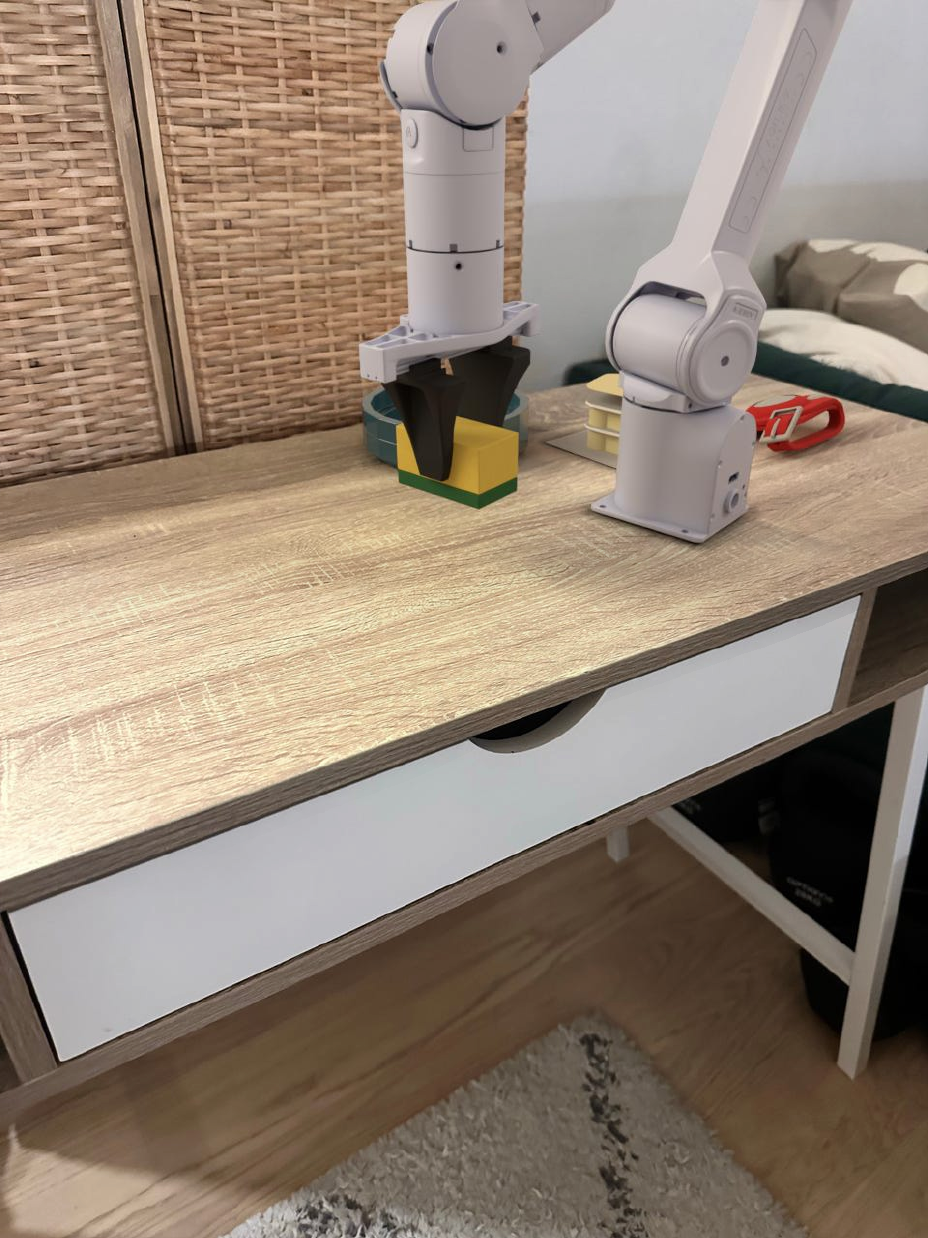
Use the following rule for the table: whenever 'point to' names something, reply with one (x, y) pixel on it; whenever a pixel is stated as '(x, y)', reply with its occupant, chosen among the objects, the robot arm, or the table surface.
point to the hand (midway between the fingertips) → (457, 466)
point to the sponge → (467, 464)
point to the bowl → (385, 418)
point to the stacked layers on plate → (598, 423)
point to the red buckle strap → (795, 419)
